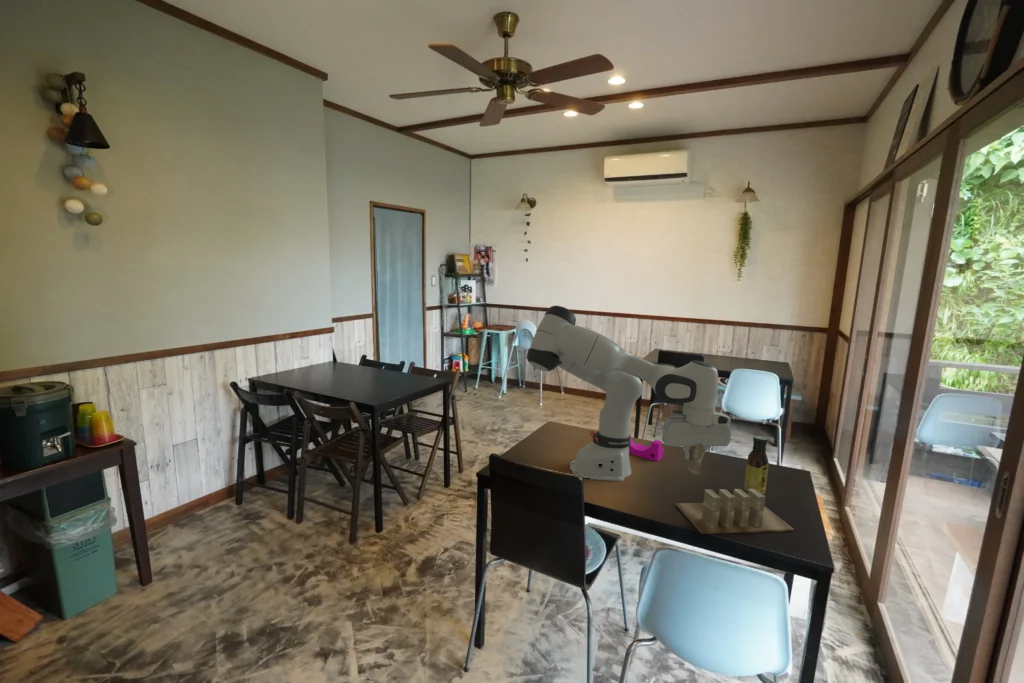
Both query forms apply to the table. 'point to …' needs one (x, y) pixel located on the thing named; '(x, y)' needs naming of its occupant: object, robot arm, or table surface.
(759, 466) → the sauce bottle
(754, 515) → the domino
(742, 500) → the domino
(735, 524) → the board
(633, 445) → the toy block
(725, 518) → the domino
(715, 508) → the domino
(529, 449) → the table surface
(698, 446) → the domino
